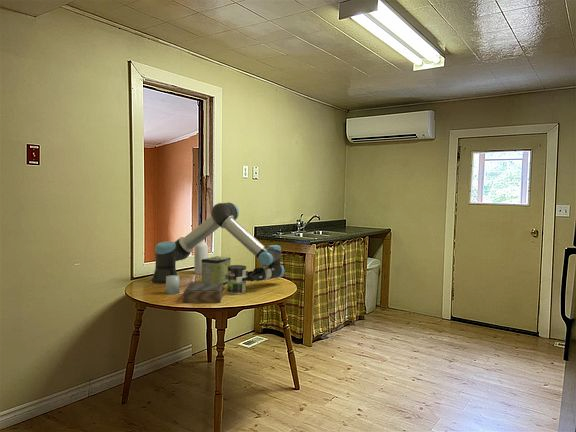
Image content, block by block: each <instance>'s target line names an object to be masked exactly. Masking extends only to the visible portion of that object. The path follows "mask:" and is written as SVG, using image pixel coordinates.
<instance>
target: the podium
mask: <svg viewBox="0 0 576 432" xmlns="http://www.w3.org/2000/svg"><path fill="white" fill-rule="evenodd" d="M182 294H183V295H182V299H183V300H182V304H219V303H222V299H223V295H224V285H223V284H213V283H198V282H197V283H196V282H195V283H194V282H193V283H192V282H191V283H188V284H187V286H186V287H185V289H184V290H183V291H182Z"/></svg>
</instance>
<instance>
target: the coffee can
mask: <svg viewBox="0 0 576 432" xmlns="http://www.w3.org/2000/svg"><path fill="white" fill-rule="evenodd" d="M246 271H247V266H246V265H241V264H233V265H232V264H230V266H228V284H226V286H227V289H226V290H227V294H230V295H243V294H246V291H247V288H246V287H247V281H245V282H239V283H236V277H243V276H246Z"/></svg>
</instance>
